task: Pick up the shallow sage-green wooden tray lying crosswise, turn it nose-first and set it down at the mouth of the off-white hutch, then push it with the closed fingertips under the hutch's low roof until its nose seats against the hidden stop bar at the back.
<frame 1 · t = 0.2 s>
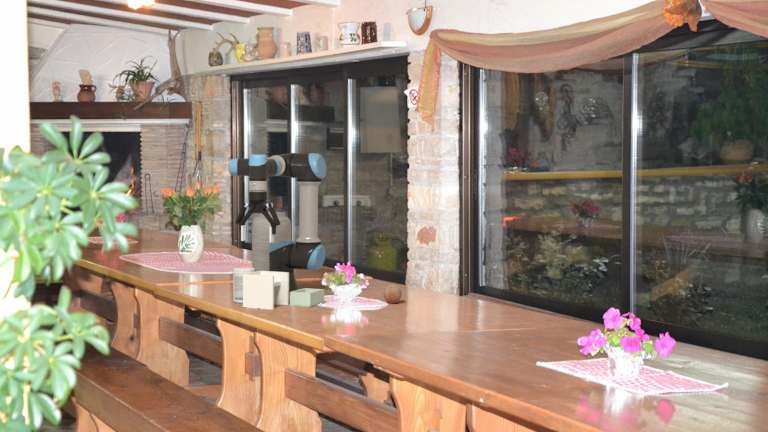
hand: (257, 241, 444), 27 cm above the table, fingers open, 13 cm apart
supplement tub: (244, 302, 457), on the table
vase: (271, 277, 548), on the table
fruit: (392, 303, 459), on the table
hutch: (266, 306, 446), on the table
tray: (307, 304, 452), on the table
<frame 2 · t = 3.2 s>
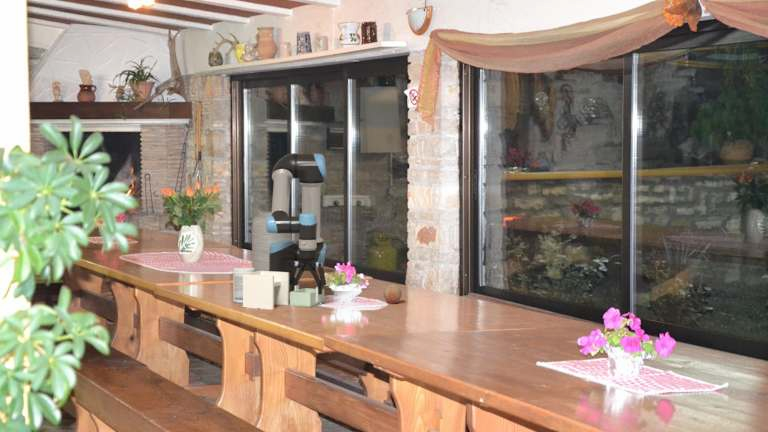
hand: (307, 301, 452), 1 cm above the table, fingers closed on tray, 9 cm apart
tray: (307, 304, 452), on the table, touching gripper
everything else where it was.
when the fingers open (3 cm above the table, at t = 7.5 s): tray drops 1 cm, on the table.
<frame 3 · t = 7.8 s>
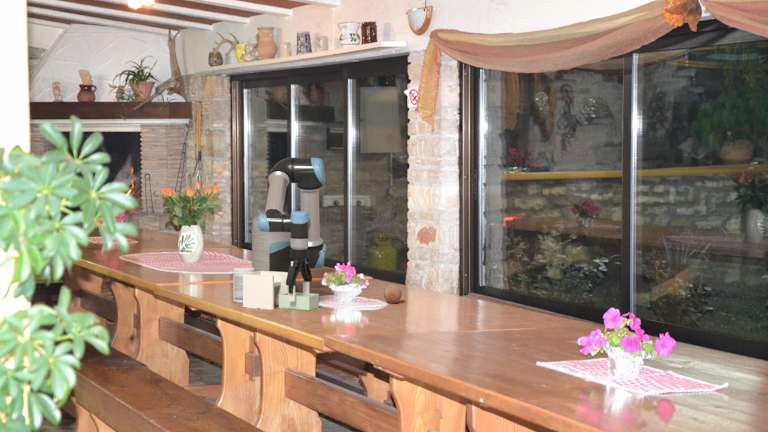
hand: (299, 299, 440), 4 cm above the table, fingers open, 13 cm apart
tray: (299, 308, 441), on the table
everything else where it was.
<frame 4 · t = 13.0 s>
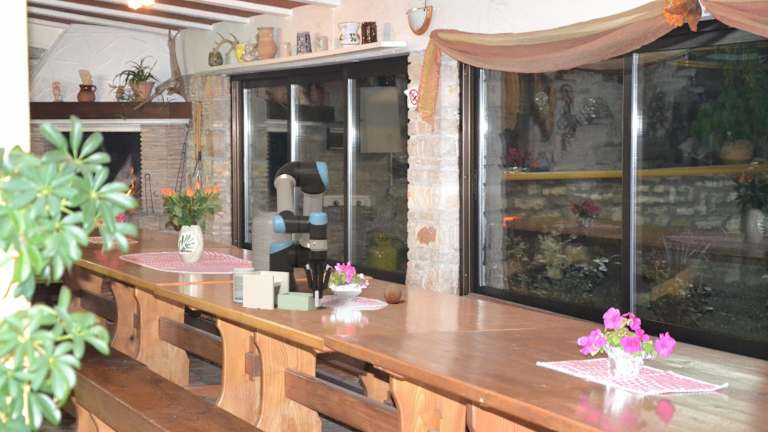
hand: (317, 306, 437), 2 cm above the table, fingers closed
tray: (297, 308, 441), on the table, touching gripper
everything else where it was.
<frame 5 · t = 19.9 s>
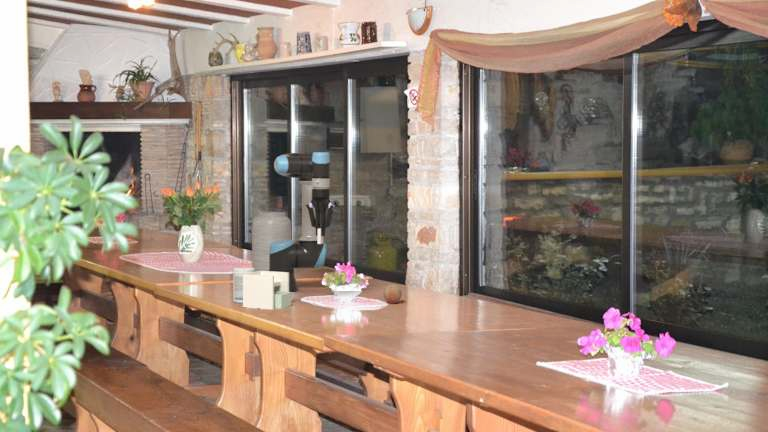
hand: (320, 243, 450), 26 cm above the table, fingers closed
tray: (271, 306, 445), on the table
everything else where it was.
at the end: tray 0.7 cm from the target spot on the hutch, point 0.0 cm above the hutch's base; tray tilted 0° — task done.
